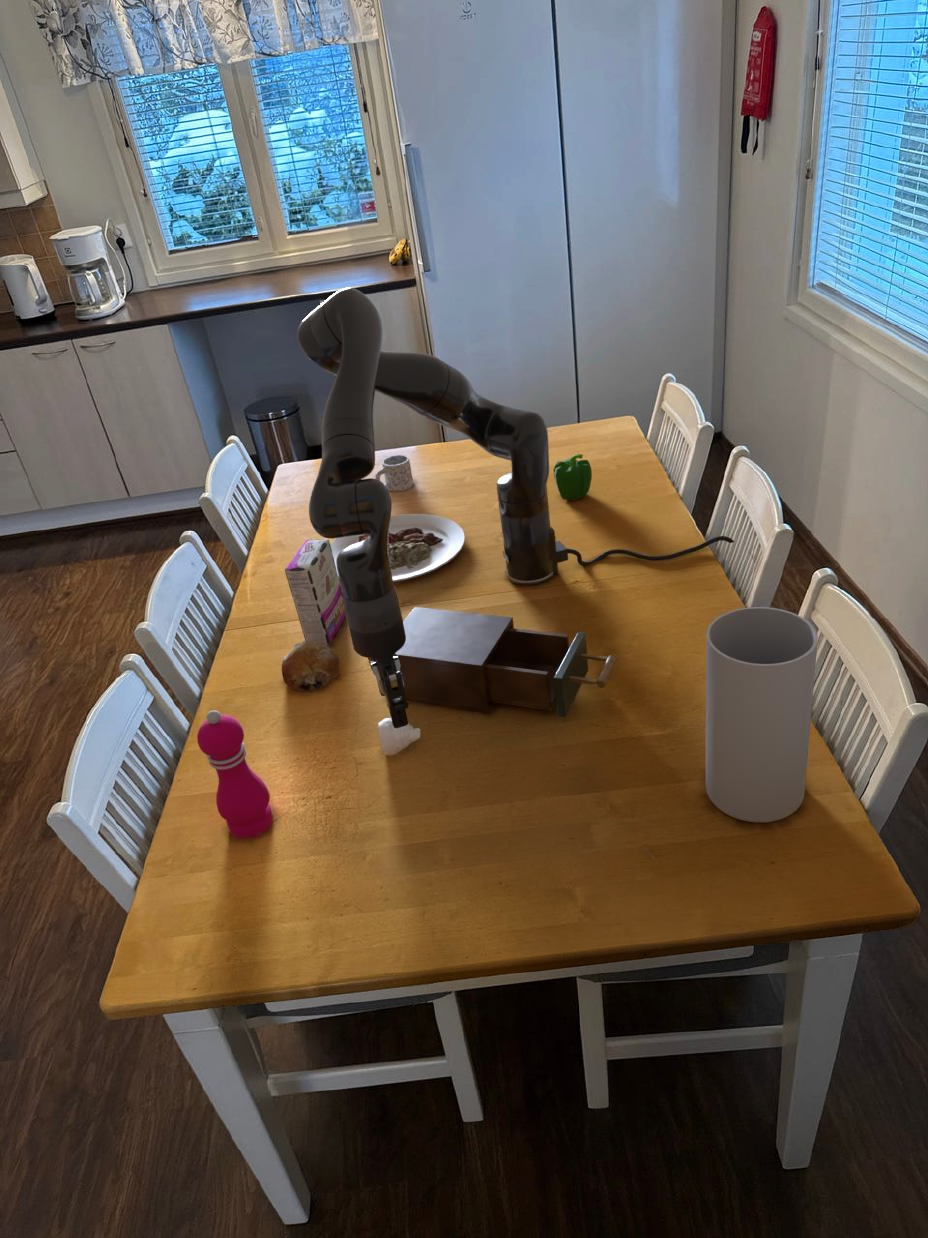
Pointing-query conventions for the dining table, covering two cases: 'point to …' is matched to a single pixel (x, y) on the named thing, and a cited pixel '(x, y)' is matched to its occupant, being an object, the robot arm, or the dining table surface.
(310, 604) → the candy bar box
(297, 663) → the bread roll
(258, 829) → the pepper mill
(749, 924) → the dining table surface
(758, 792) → the cylinder vase
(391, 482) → the mug
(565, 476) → the bell pepper
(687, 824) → the dining table surface
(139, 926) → the dining table surface
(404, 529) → the plated food
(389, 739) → the garlic bulb
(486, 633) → the cabinet
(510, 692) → the drawer
